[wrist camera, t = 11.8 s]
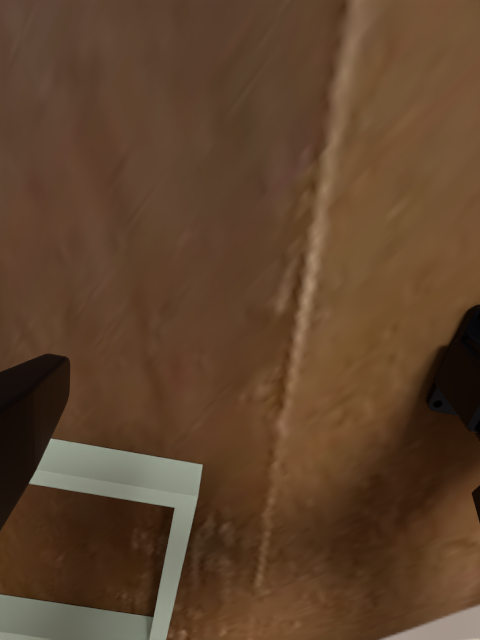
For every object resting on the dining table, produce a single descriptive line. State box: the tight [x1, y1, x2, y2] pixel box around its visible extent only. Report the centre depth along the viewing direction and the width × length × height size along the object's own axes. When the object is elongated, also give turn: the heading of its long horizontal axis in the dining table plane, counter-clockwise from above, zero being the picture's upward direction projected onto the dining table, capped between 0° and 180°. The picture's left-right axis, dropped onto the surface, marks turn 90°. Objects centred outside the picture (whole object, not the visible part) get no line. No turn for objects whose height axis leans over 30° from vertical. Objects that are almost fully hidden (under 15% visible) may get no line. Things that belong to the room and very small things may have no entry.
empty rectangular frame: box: [0, 439, 203, 640], centre depth 29 cm, size 18×18×2 cm
